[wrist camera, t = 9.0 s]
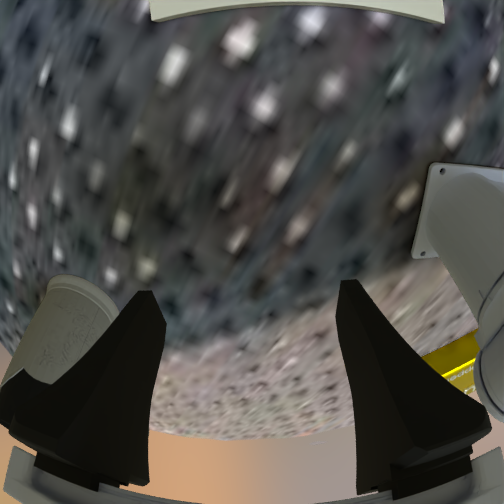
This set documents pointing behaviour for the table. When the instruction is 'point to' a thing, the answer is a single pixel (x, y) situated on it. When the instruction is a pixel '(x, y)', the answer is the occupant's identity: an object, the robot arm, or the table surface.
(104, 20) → the table surface
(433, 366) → the element tile
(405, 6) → the socket board
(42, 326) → the glass holder
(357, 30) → the table surface
